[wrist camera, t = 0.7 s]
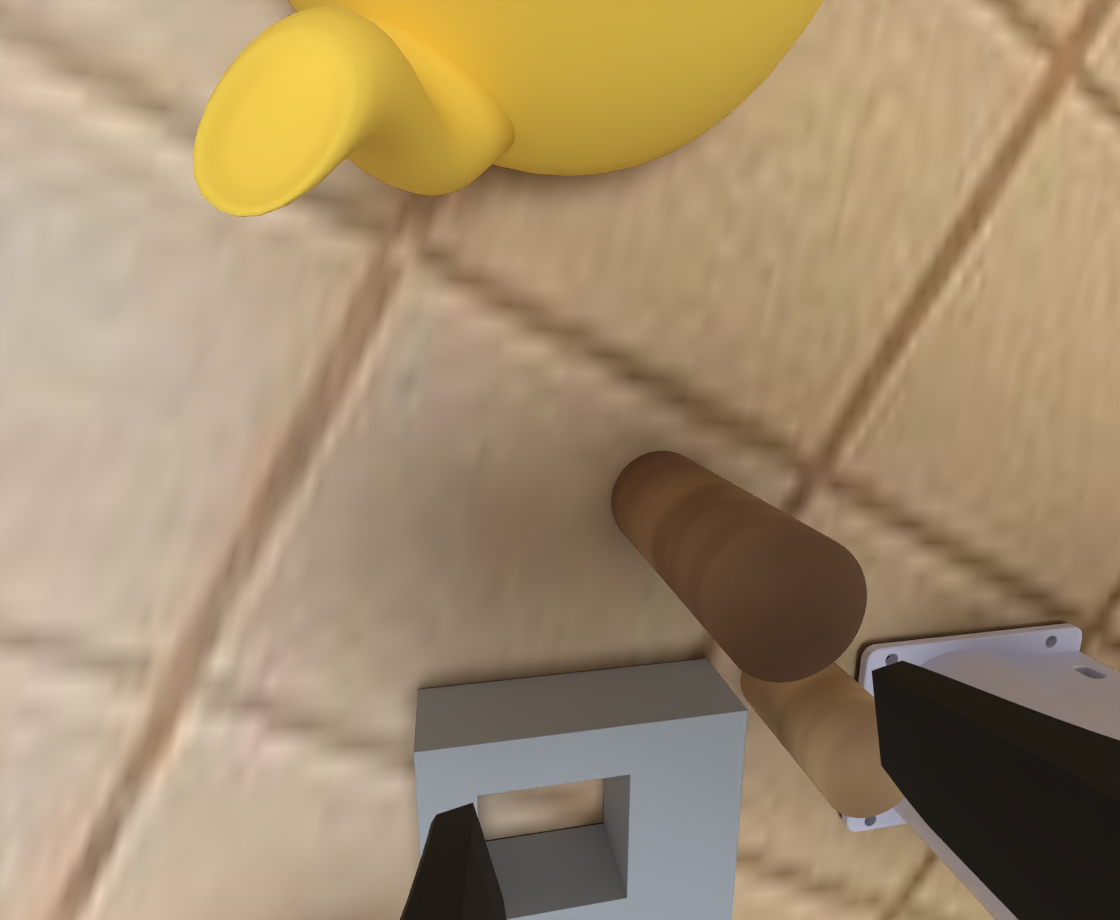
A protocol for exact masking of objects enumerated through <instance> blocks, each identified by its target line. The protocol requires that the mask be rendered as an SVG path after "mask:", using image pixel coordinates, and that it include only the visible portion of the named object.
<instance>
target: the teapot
mask: <svg viewBox="0 0 1120 920" xmlns="http://www.w3.org/2000/svg"><path fill="white" fill-rule="evenodd" d="M288 1H289V3H290V4H291V6H292V7H293V8H294V10H295V11H296V13H295V14H292V15H290V16H288V17H286V18H284V19H283V20H281V21H279V22H277V23H275V24H273V25H271V26H270V27H269V28H267V29H266V30H265V31H264V32H262V33H261V34H260V35H259V36H258V37H257V38H256V39H254V40H253V41H252V42H251V43H250V44H249V45H247V47H246V48H245V49H244V50H243V51H242V52H241V53H240V54H239V56H238V57H237V58H236V59H235V61H234V62H233V63H232V64H231V66H230V67H229V68H228V69H227V71H226V72H225V73H224V75H223V77H222V78H221V80H220V82H219V83H218V85H217V87H216V89H215V90H214V92H213V94H212V95H211V97H210V99H209V101H208V103H207V106H206V109H205V111H204V114H203V116H202V119H201V122H200V124H199V127H198V130H197V135H196V141H195V146H194V151H193V161H194V177H195V180H196V182H197V184H198V187H199V189H200V192H201V194H202V196H203V197H204V198H205V199H206V200H208V201H209V202H210V203H211V204H212V205H213V206H214V207H215V208H216V209H217V210H220V211H223V212H226V213H229V214H232V215H235V216H238V217H245V216H261V215H263V214H266V213H269V212H271V211H274V210H276V209H279V208H281V207H284V206H287V205H288V204H290V203H291V202H293V201H294V200H296V199H297V198H299V197H300V196H302V195H303V194H305V193H306V192H308V191H309V190H311V189H312V188H314V187H315V186H316V185H317V184H319V183H320V182H321V181H322V180H323V179H324V178H325V177H326V176H327V175H328V174H329V173H330V172H331V171H332V170H334V169H335V168H336V167H337V166H338V165H339V164H340V163H341V162H342V161H343V160H345V159H346V158H347V159H348V160H350V161H351V162H352V163H354V164H355V165H356V166H358V167H359V168H360V169H362V170H363V171H364V172H366V173H368V174H370V175H371V176H373V177H375V178H377V179H379V180H380V181H382V182H384V183H386V184H388V185H391V186H394V187H396V188H399V189H402V190H405V191H408V192H412V193H415V194H422V195H429V196H436V195H442V194H448V193H451V192H454V191H458V190H460V189H462V188H463V187H465V186H467V185H469V184H470V183H471V182H472V181H474V180H475V179H476V178H477V177H479V176H480V175H481V174H482V173H483V172H484V171H485V170H487V169H488V168H489V167H490V166H491V165H492V164H493V165H496V166H500V167H505V168H510V169H515V170H519V171H524V172H529V173H533V174H547V175H562V176H576V175H589V174H603V173H608V172H612V171H617V170H621V169H626V168H630V167H635V166H638V165H641V164H644V163H646V162H649V161H651V160H654V159H657V158H659V157H662V156H665V155H667V154H669V153H671V152H673V151H675V150H677V149H678V148H680V147H682V146H684V145H686V144H687V143H689V142H691V141H693V140H695V139H696V138H698V137H700V136H701V135H702V134H704V133H705V132H706V131H708V130H709V129H710V128H711V127H713V126H714V125H715V124H717V123H718V122H719V121H721V120H722V119H723V118H725V117H726V116H727V115H728V114H730V113H731V112H732V111H733V110H734V109H735V108H737V107H738V106H739V105H740V104H741V103H742V102H743V101H744V100H745V99H746V98H747V97H748V96H749V95H750V94H751V93H752V92H753V91H754V90H755V89H756V88H757V87H758V86H759V85H760V84H761V83H762V82H763V81H764V80H765V79H766V78H767V77H768V76H769V75H770V74H771V72H772V71H773V70H774V69H775V67H776V66H777V65H778V63H779V62H780V61H781V60H782V58H783V57H784V56H785V54H786V53H787V52H788V51H789V49H790V48H791V47H792V45H793V44H794V43H795V41H796V40H797V39H798V38H799V36H800V35H801V34H802V32H803V31H804V30H805V28H806V27H807V26H808V24H809V23H810V21H811V20H812V18H813V16H814V15H815V13H816V12H817V10H818V8H819V7H820V5H821V3H822V2H823V0H288Z"/></svg>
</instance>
